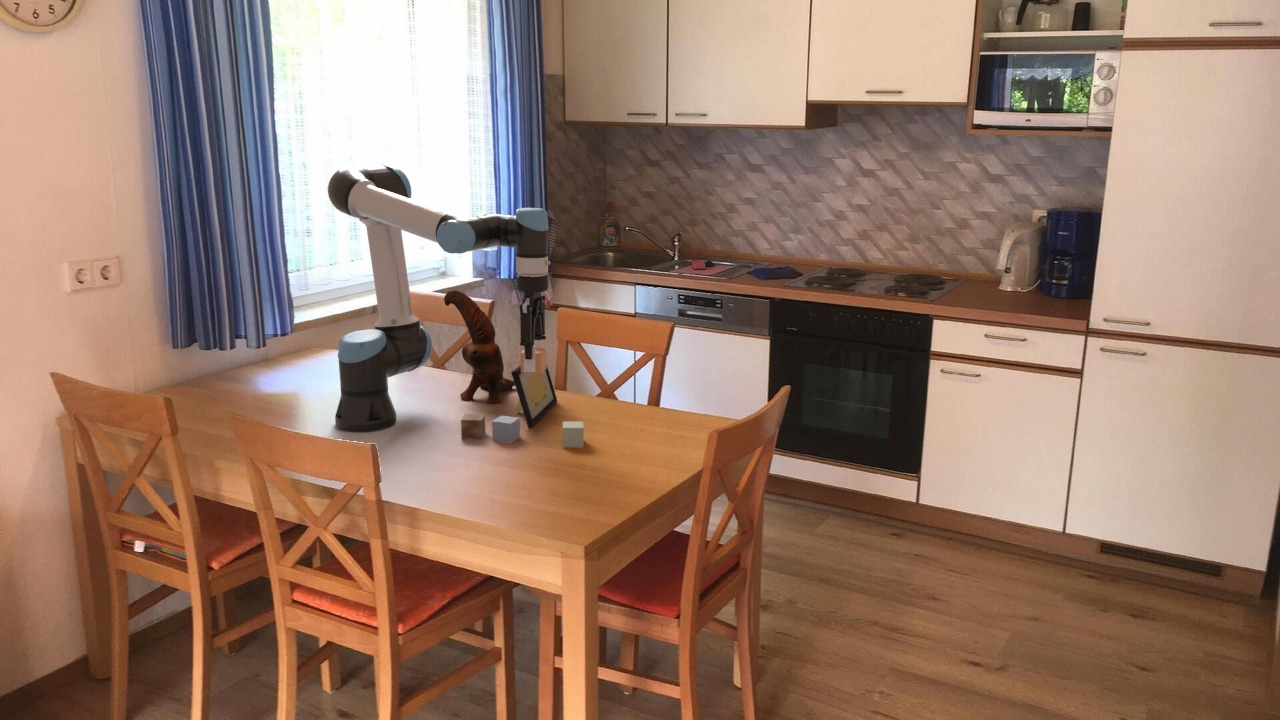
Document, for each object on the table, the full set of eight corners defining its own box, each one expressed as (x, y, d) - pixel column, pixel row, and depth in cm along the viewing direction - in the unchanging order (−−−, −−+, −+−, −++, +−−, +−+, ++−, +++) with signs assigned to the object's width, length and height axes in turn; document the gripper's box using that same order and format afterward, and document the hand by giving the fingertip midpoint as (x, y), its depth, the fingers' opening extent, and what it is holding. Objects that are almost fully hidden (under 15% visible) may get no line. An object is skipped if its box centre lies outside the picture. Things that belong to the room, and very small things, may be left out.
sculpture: (440, 396, 281) (437, 291, 274) (485, 382, 296) (483, 282, 289) (490, 407, 271) (487, 298, 264) (533, 392, 286) (532, 289, 279)
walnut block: (461, 439, 245) (461, 419, 244) (465, 432, 250) (464, 413, 249) (481, 439, 245) (481, 420, 244) (485, 433, 250) (484, 414, 249)
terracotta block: (520, 372, 241) (520, 352, 239) (527, 367, 245) (526, 347, 244) (540, 373, 240) (540, 353, 239) (546, 368, 245) (546, 348, 243)
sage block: (562, 447, 241) (562, 427, 239) (562, 441, 245) (562, 421, 244) (583, 447, 241) (583, 427, 240) (583, 440, 246) (583, 421, 244)
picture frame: (532, 427, 254) (525, 370, 251) (499, 428, 256) (492, 372, 253) (557, 402, 276) (551, 350, 273) (527, 403, 278) (520, 351, 275)
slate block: (492, 440, 245) (492, 421, 243) (501, 434, 249) (501, 415, 248) (511, 443, 243) (510, 423, 242) (519, 437, 248) (519, 417, 246)
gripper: (536, 280, 228) (537, 379, 233) (557, 269, 245) (558, 360, 250) (505, 279, 229) (506, 377, 235) (528, 267, 246) (529, 359, 252)
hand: (533, 368), depth 243 cm, fingers closed on terracotta block, 5 cm apart
